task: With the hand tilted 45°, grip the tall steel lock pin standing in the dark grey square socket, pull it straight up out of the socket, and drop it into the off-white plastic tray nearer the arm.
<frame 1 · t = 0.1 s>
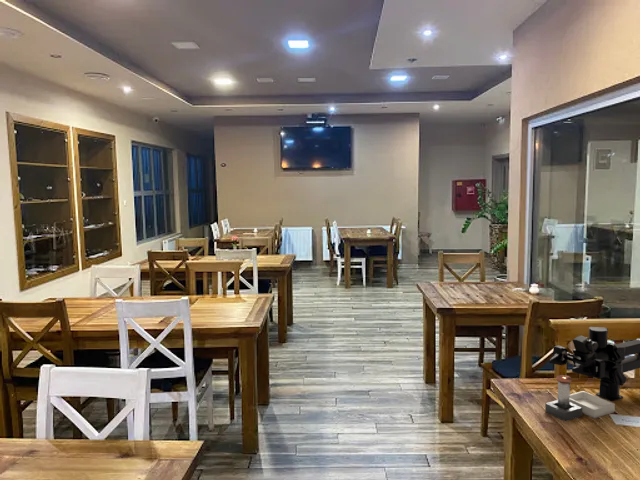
hand: (560, 365, 163), 16 cm above the table, tool horizontal, fingers open, 9 cm apart
tray: (588, 408, 166), on the table
lock pin: (563, 395, 162), in the dark grey square socket
dark grey square socket: (563, 413, 163), on the table
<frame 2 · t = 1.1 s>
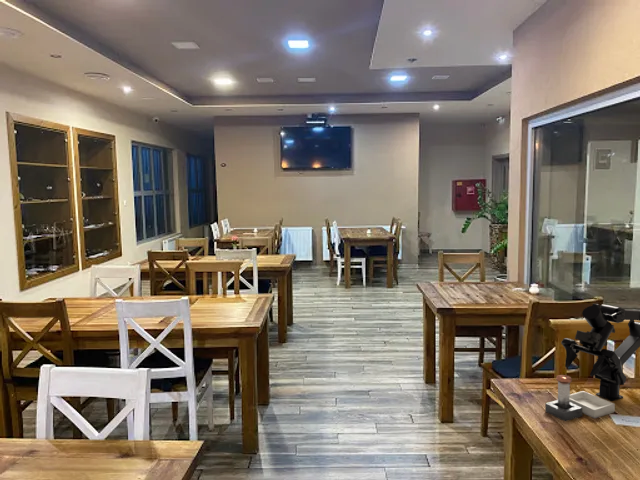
hand: (578, 371, 165), 14 cm above the table, tool tilted 45°, fingers open, 9 cm apart
nothing on the table moved.
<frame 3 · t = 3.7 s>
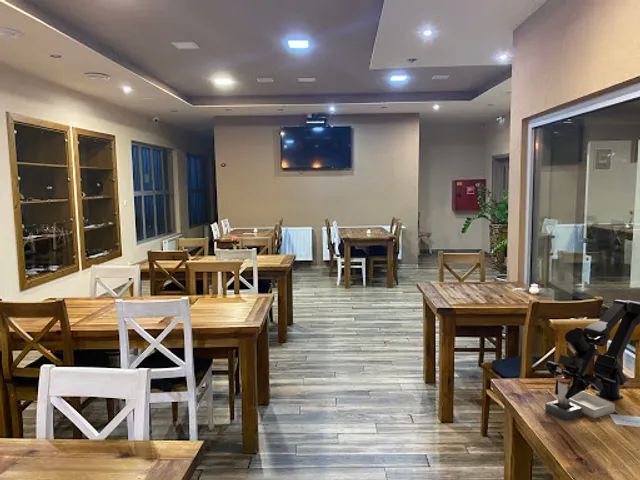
hand: (561, 396, 162), 7 cm above the table, tool tilted 45°, fingers closed on lock pin, 4 cm apart
lock pin: (563, 395, 162), in the dark grey square socket, touching gripper
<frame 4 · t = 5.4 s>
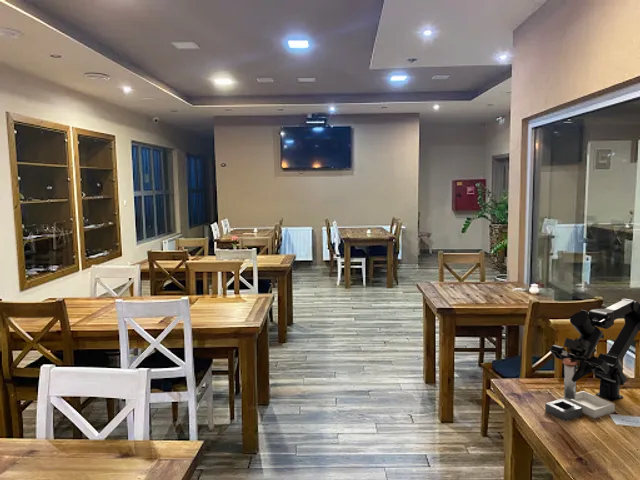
hand: (567, 379, 162), 12 cm above the table, tool tilted 45°, fingers closed on lock pin, 4 cm apart
lock pin: (570, 378, 163), point 12 cm above the table, touching gripper
when the fingers open (9 cm above the table, at t = 7.1 s): lock pin drops 2 cm, resting on tray.
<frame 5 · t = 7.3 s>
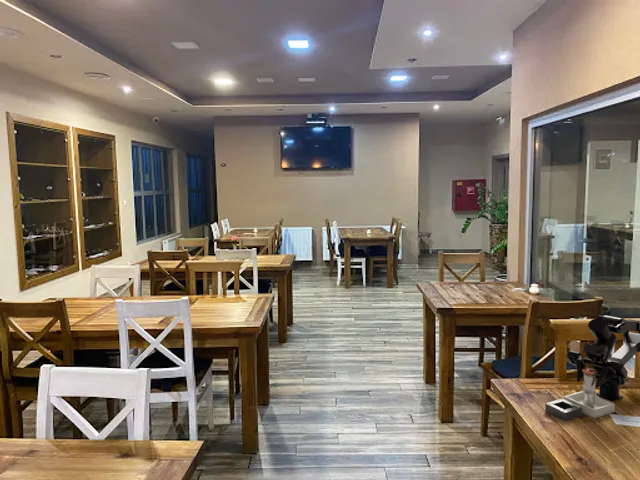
hand: (586, 384, 165), 9 cm above the table, tool tilted 45°, fingers open, 6 cm apart
lock pin: (589, 388, 166), in the tray, point 7 cm above the table
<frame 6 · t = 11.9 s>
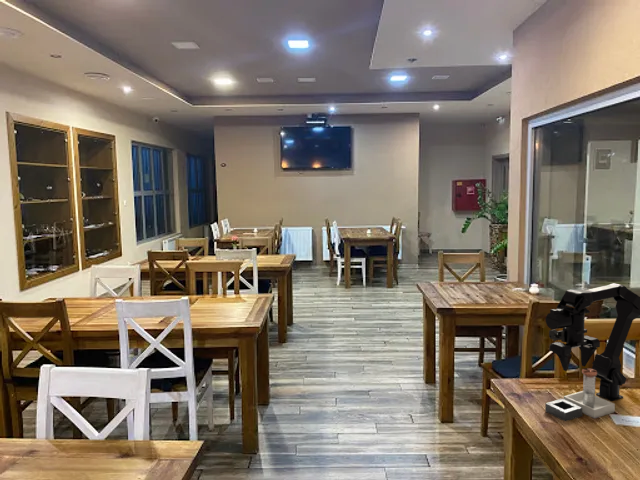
hand: (574, 368, 169), 13 cm above the table, tool pointing down, fingers open, 9 cm apart
nothing on the table moved.
at the end: lock pin inside the target area on the tray (0.1 cm from its centre), point 7.1 cm above the tray's base; the gripper is holding nothing; lock pin touching tray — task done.
